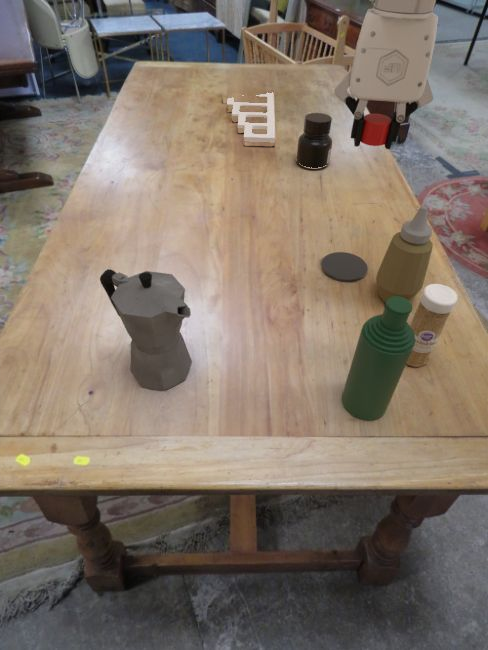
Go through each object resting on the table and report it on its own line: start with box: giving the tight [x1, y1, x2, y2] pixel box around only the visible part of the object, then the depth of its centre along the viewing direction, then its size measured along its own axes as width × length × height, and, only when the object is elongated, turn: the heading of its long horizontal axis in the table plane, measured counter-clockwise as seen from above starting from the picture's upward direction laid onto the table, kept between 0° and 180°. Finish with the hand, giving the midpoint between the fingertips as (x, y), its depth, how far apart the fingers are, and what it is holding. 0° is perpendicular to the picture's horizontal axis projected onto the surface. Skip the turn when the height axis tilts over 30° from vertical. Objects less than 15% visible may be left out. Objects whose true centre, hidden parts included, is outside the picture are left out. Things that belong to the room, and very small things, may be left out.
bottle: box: [341, 296, 415, 422], centre depth 56 cm, size 6×6×19 cm
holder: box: [226, 92, 276, 143], centre depth 141 cm, size 45×18×3 cm, turn 178°
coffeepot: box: [99, 268, 193, 391], centre depth 61 cm, size 15×9×18 cm, turn 57°
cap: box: [360, 113, 391, 147], centre depth 66 cm, size 4×4×3 cm
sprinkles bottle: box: [406, 283, 459, 368], centre depth 64 cm, size 5×5×13 cm
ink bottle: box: [295, 112, 333, 168], centre depth 114 cm, size 10×9×12 cm
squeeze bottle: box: [375, 205, 434, 303], centre depth 73 cm, size 8×8×18 cm
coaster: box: [320, 251, 369, 283], centre depth 85 cm, size 9×9×1 cm
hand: (371, 143), depth 68 cm, fingers closed on cap, 4 cm apart
